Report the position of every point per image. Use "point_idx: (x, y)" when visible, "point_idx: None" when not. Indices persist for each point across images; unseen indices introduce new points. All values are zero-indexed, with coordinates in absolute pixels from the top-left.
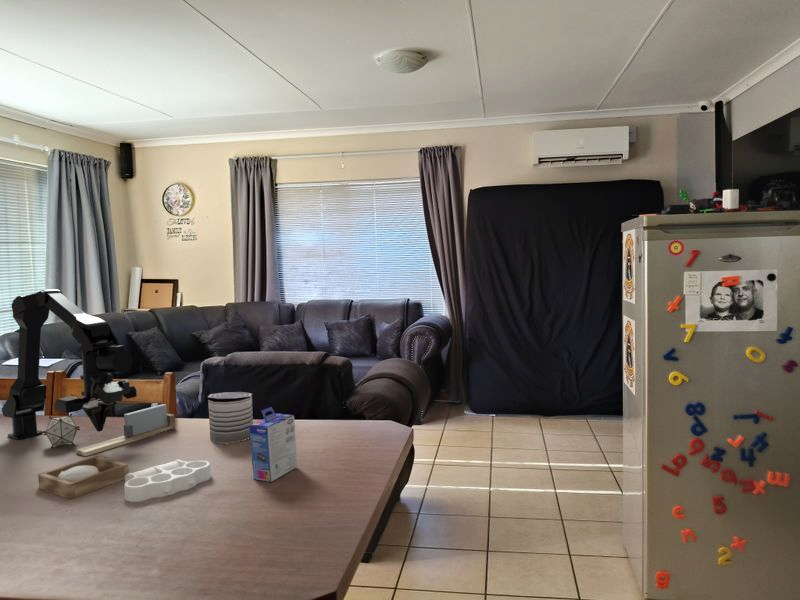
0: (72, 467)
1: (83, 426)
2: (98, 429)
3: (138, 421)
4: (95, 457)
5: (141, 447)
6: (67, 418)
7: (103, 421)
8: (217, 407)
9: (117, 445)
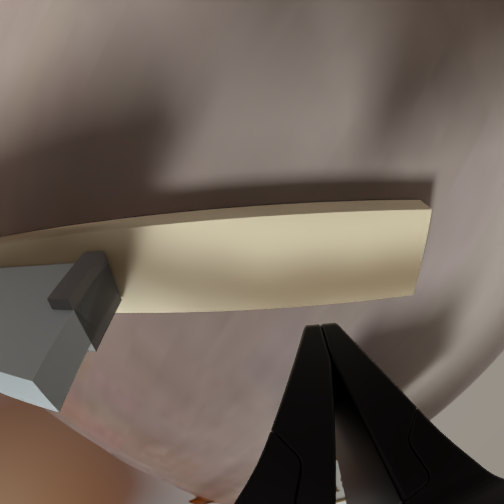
0: None
1: (194, 464)
2: (347, 337)
3: (10, 314)
4: None
5: (117, 52)
6: (338, 497)
7: (310, 394)
8: None
9: (205, 211)
